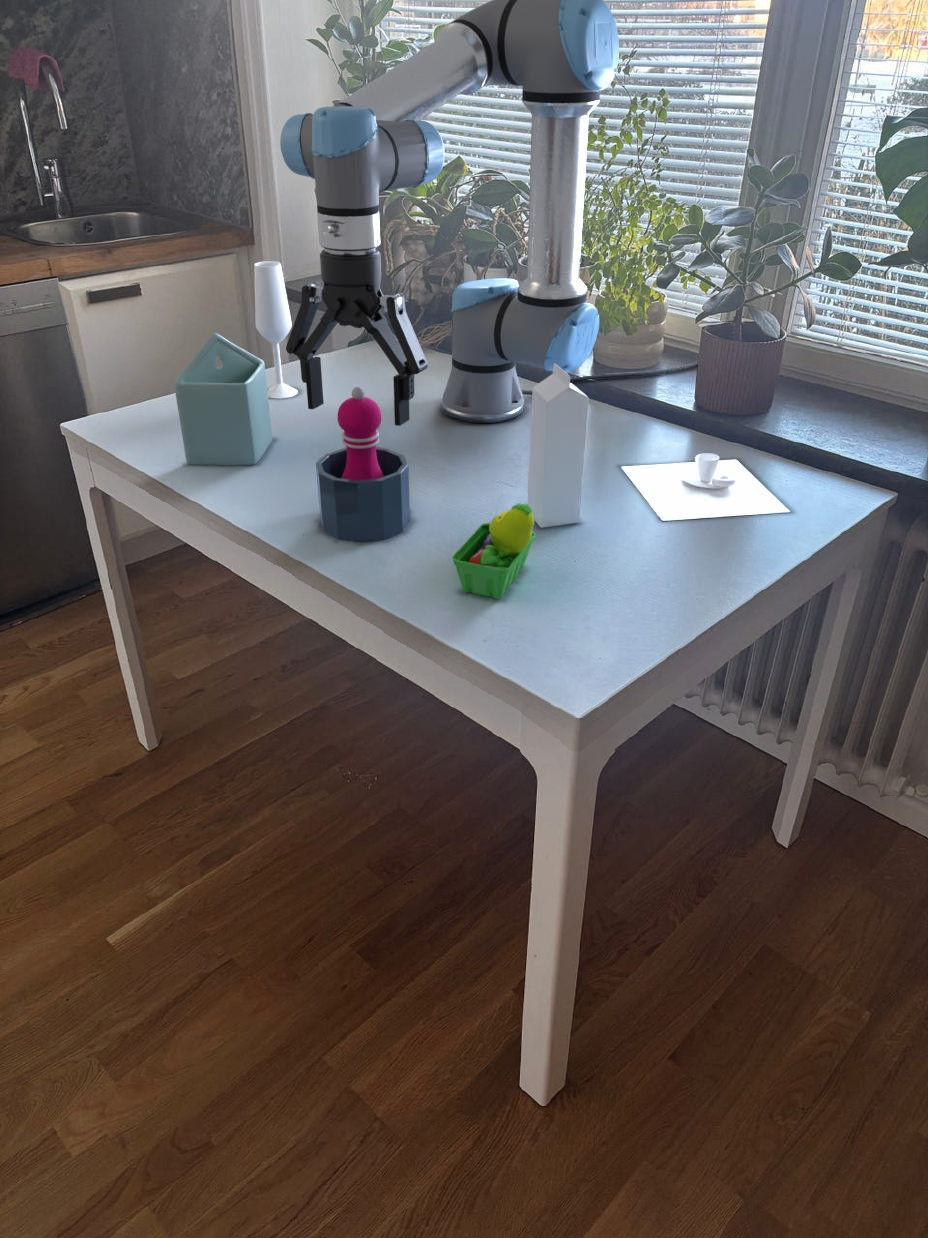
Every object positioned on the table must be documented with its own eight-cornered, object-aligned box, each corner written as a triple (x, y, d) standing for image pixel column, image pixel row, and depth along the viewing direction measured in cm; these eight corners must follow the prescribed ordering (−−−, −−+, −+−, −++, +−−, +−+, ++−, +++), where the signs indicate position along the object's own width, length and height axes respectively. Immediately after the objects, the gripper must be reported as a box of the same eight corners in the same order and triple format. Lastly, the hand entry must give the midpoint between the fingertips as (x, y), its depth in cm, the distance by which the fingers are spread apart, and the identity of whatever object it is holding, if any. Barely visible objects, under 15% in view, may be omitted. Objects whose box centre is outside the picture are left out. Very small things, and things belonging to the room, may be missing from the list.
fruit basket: (482, 554, 128) (484, 478, 122) (544, 567, 125) (548, 489, 119) (449, 594, 119) (449, 513, 113) (514, 608, 116) (518, 527, 110)
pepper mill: (397, 514, 138) (393, 381, 127) (378, 535, 132) (371, 398, 121) (353, 507, 140) (344, 375, 129) (331, 528, 134) (321, 392, 123)
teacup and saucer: (741, 491, 145) (746, 467, 143) (693, 494, 144) (696, 470, 142) (719, 469, 153) (723, 445, 150) (673, 471, 151) (676, 448, 149)
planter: (210, 478, 148) (192, 354, 138) (186, 463, 153) (166, 342, 142) (297, 451, 158) (286, 333, 147) (271, 438, 162) (258, 323, 152)
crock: (399, 498, 142) (397, 442, 138) (416, 536, 132) (415, 477, 127) (316, 507, 140) (311, 450, 135) (327, 546, 129) (322, 486, 125)
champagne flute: (303, 388, 185) (291, 260, 172) (290, 399, 179) (277, 268, 166) (271, 385, 186) (257, 258, 173) (257, 396, 180) (242, 266, 167)
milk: (540, 528, 135) (548, 378, 123) (526, 510, 139) (532, 364, 127) (579, 523, 136) (591, 374, 124) (564, 505, 141) (573, 360, 129)
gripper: (249, 244, 117) (266, 407, 129) (425, 264, 108) (426, 438, 120) (283, 234, 123) (297, 392, 134) (453, 253, 114) (452, 420, 125)
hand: (358, 414), depth 127 cm, fingers open, 13 cm apart
